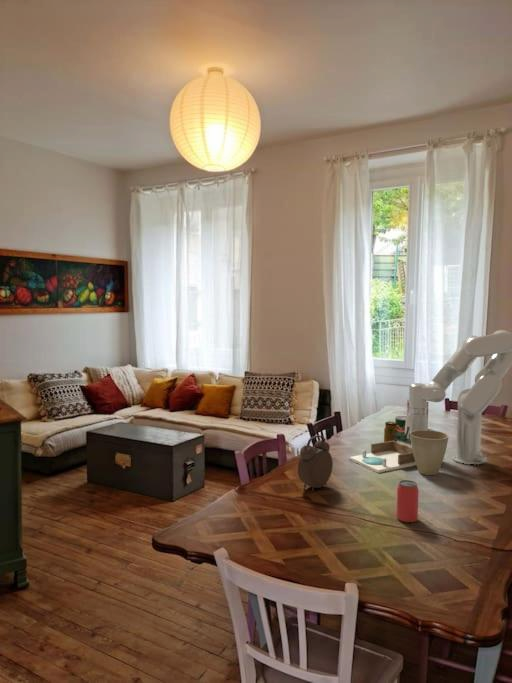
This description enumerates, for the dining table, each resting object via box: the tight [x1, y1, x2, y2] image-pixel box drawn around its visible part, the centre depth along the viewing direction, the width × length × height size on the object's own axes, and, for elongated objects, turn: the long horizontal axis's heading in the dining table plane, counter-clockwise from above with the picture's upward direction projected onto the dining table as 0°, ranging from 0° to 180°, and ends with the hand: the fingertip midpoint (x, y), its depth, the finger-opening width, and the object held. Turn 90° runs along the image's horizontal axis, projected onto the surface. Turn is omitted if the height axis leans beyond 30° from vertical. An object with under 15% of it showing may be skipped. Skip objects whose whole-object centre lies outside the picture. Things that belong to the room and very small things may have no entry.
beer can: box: [396, 479, 420, 523], centre depth 163 cm, size 7×7×12 cm
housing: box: [370, 441, 415, 465], centre depth 222 cm, size 18×13×4 cm
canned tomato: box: [394, 415, 411, 442], centre depth 254 cm, size 8×8×11 cm
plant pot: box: [410, 429, 449, 476], centre depth 206 cm, size 15×15×16 cm
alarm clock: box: [297, 434, 333, 492], centre depth 189 cm, size 15×7×20 cm, turn 135°
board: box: [348, 449, 417, 474], centre depth 220 cm, size 19×26×4 cm
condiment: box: [383, 420, 398, 442], centre depth 240 cm, size 7×8×12 cm
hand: (416, 450), depth 228 cm, fingers closed
